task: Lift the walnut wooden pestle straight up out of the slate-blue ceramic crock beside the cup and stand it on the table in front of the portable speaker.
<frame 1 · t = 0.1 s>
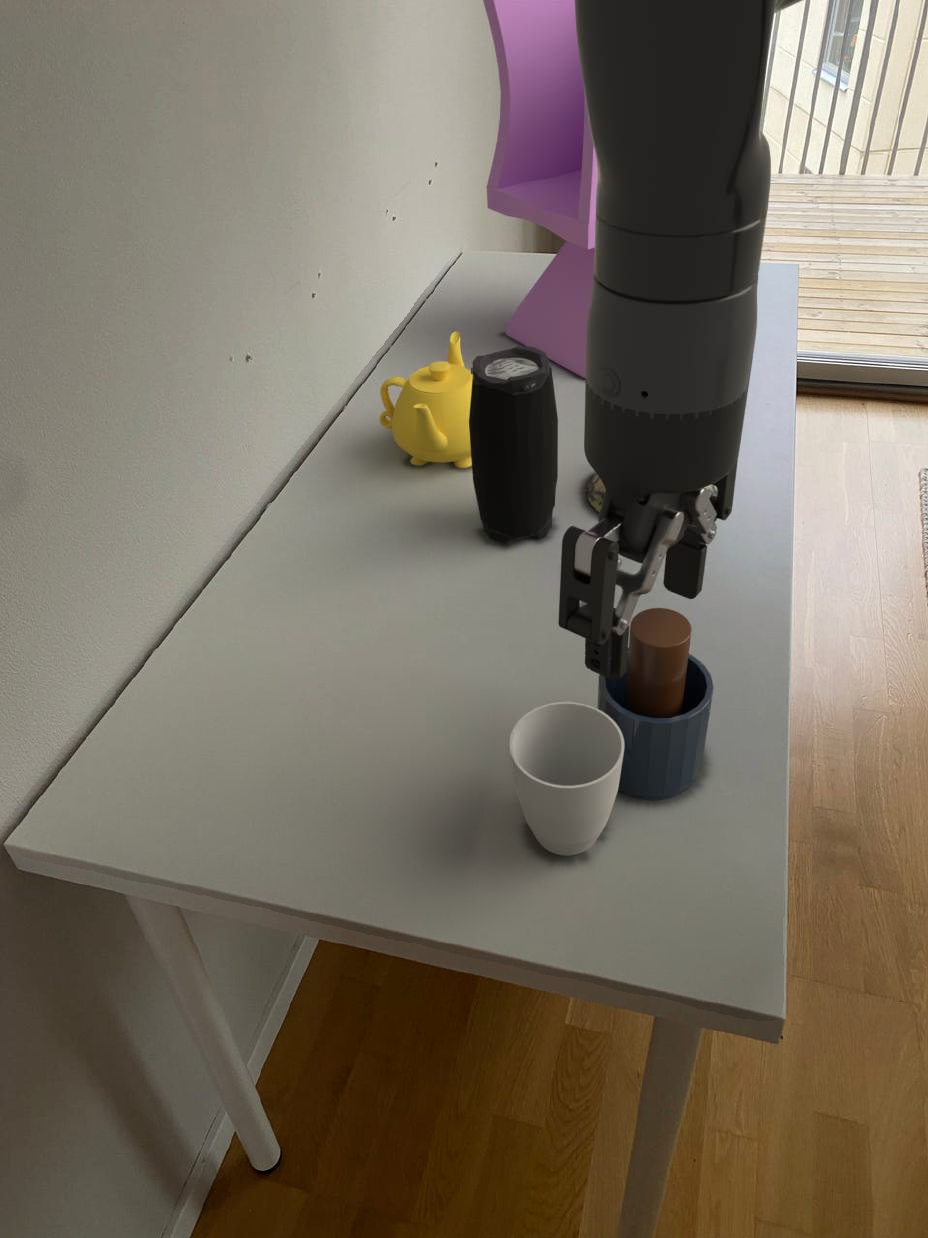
hand: (645, 630, 54), 24 cm above the table, tool pointing down, fingers open, 8 cm apart
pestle: (648, 754, 78), point 1 cm above the table, touching crock
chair: (597, 338, 140), on the table
portable speaker: (517, 527, 105), on the table
cup: (565, 830, 73), on the table
decorative bowl: (652, 493, 108), on the table
crock: (648, 758, 78), on the table
teapot: (439, 450, 118), on the table
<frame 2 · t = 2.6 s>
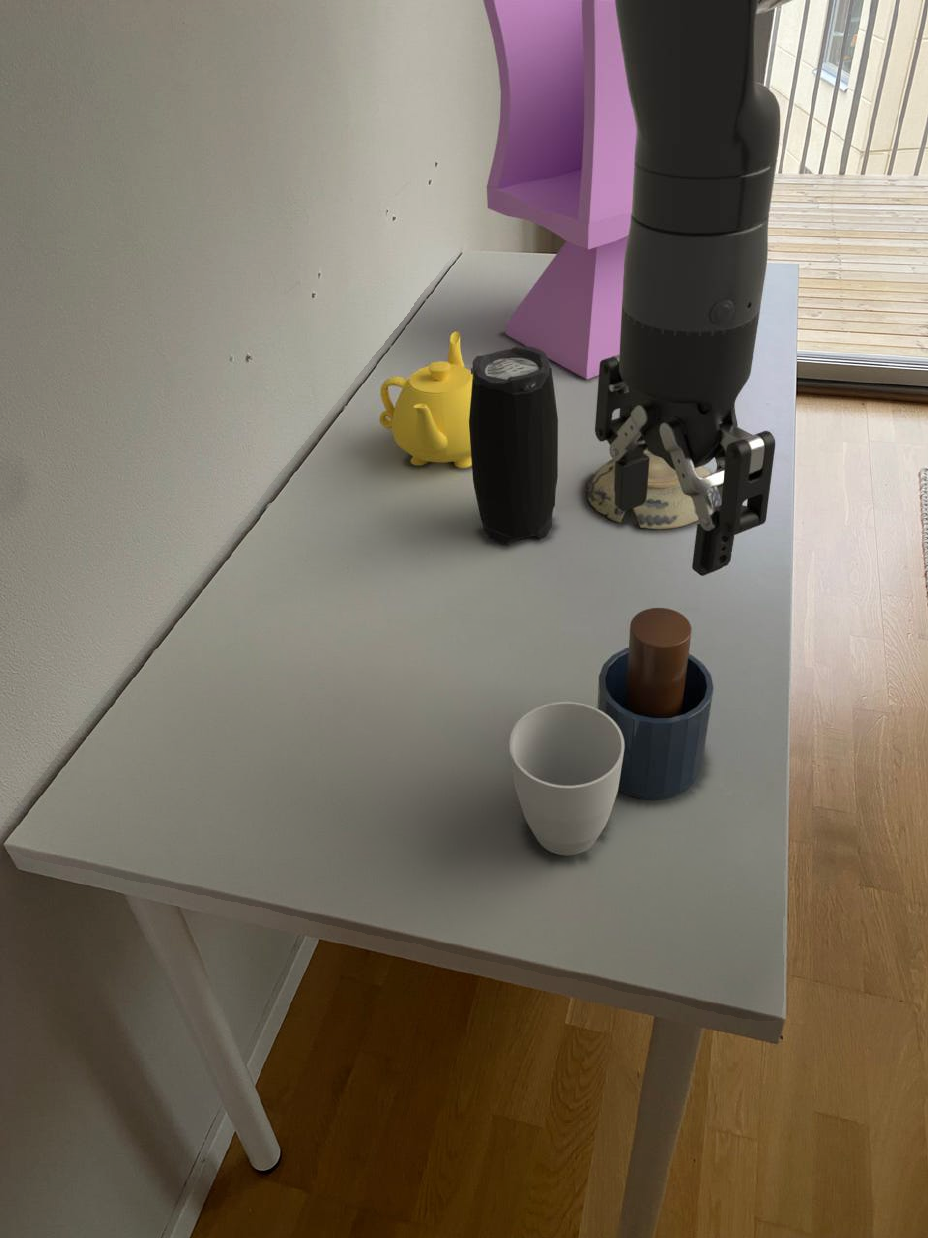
hand: (667, 535, 62), 23 cm above the table, tool pointing down, fingers open, 8 cm apart
nothing on the table moved.
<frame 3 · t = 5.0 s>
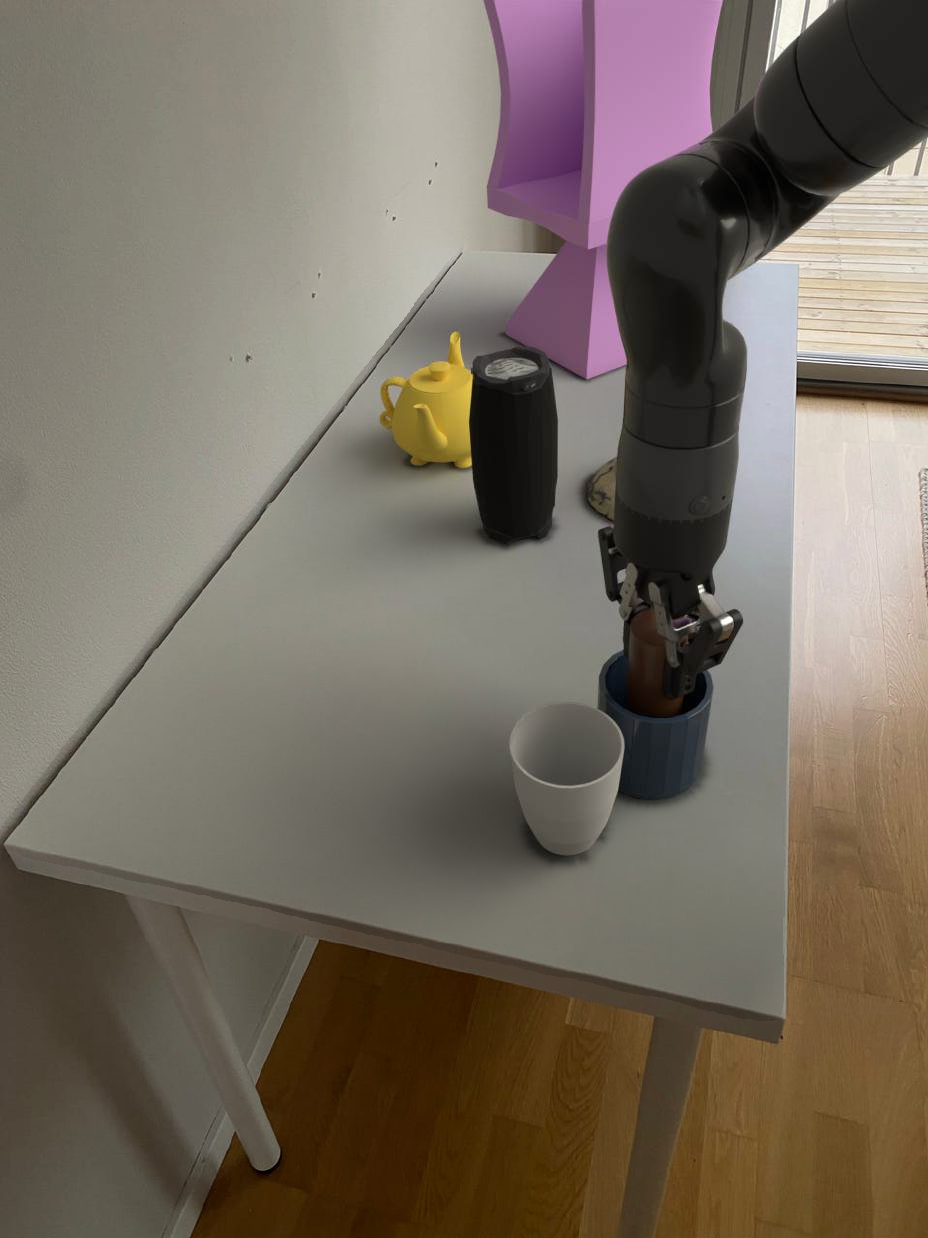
hand: (656, 672, 72), 10 cm above the table, tool pointing down, fingers closed on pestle, 4 cm apart
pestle: (648, 754, 78), point 1 cm above the table, touching crock, gripper
everything else where it was.
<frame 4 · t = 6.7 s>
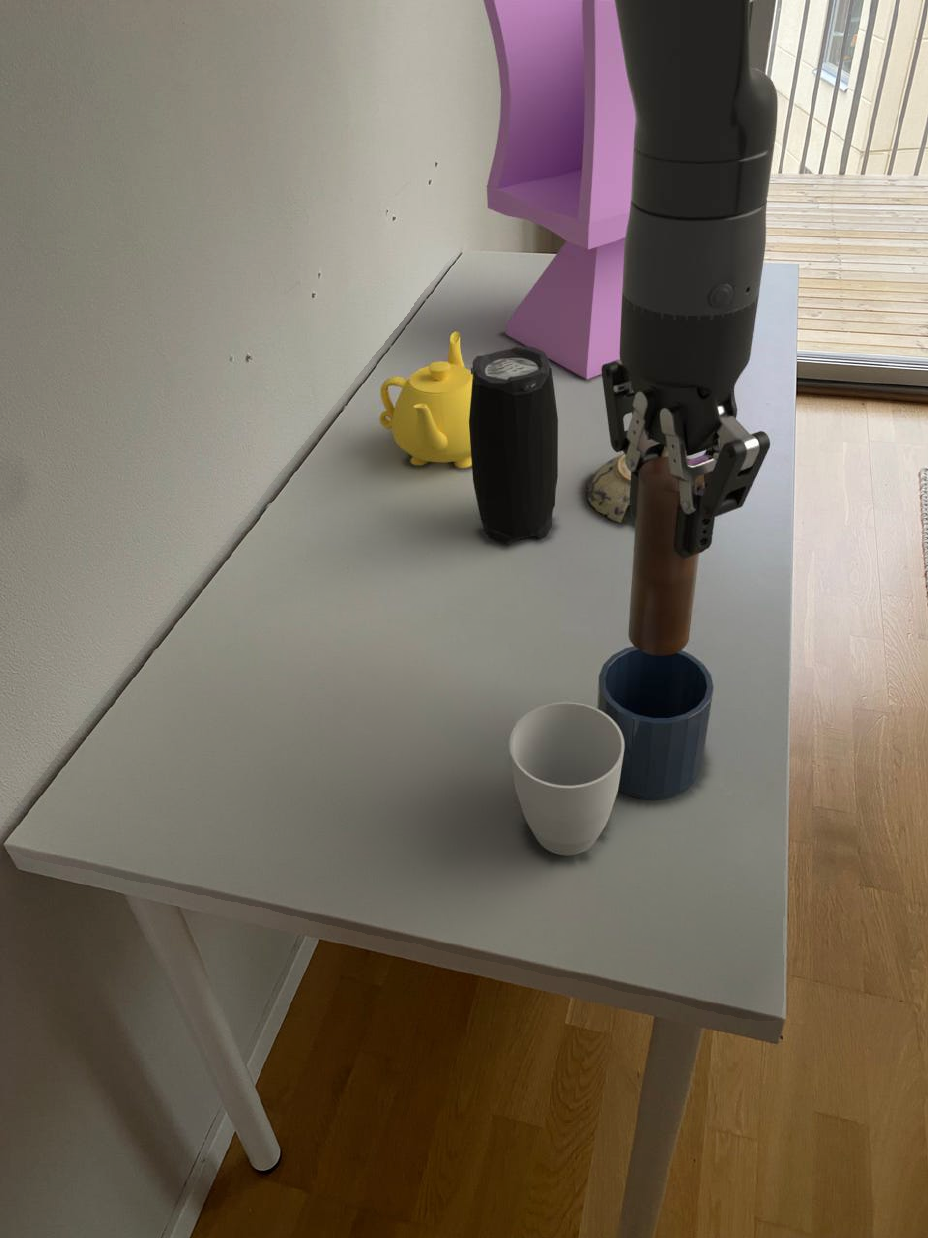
hand: (667, 532, 63), 23 cm above the table, tool pointing down, fingers closed on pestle, 4 cm apart
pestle: (658, 635, 69), point 13 cm above the table, touching gripper
everything else where it was.
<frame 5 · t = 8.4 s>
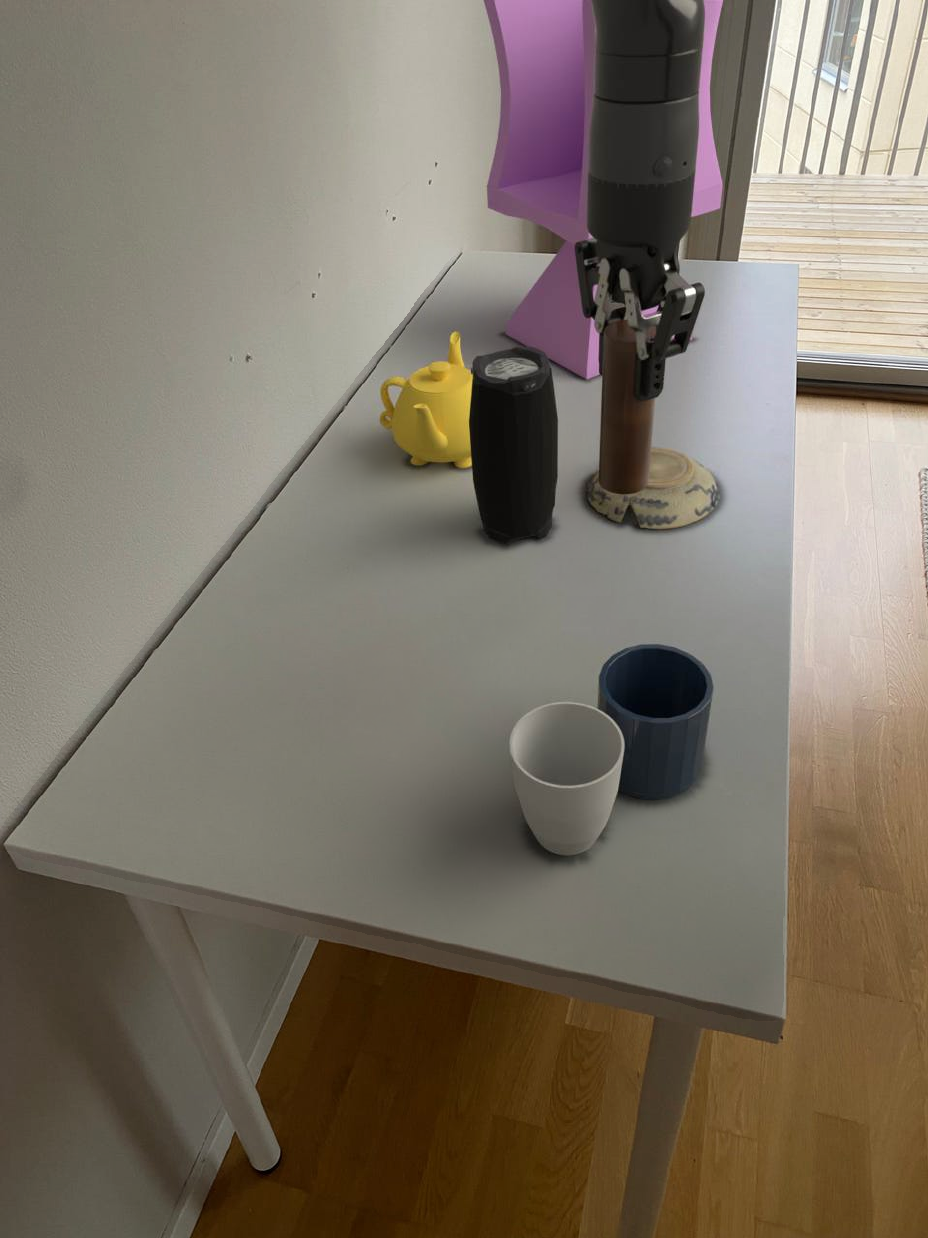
hand: (629, 384, 77), 24 cm above the table, tool pointing down, fingers closed on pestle, 4 cm apart
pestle: (623, 481, 83), point 15 cm above the table, touching gripper
everything else where it was.
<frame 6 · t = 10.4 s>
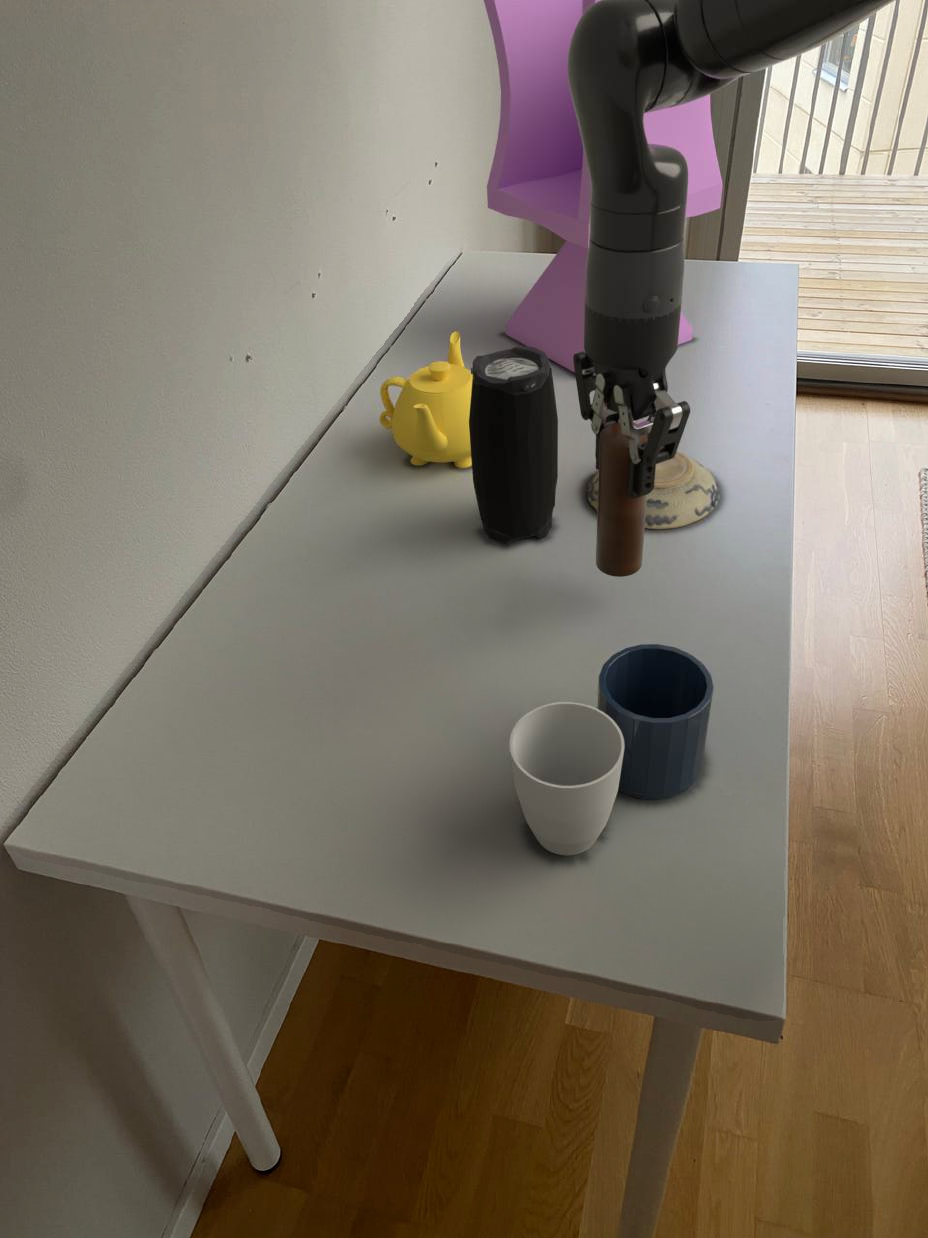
hand: (623, 480, 84), 14 cm above the table, tool pointing down, fingers closed on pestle, 4 cm apart
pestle: (618, 562, 90), point 5 cm above the table, touching gripper
everything else where it was.
when the fingers open (9 cm above the table, at t = 12.0 s): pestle stays where it is, on the table.
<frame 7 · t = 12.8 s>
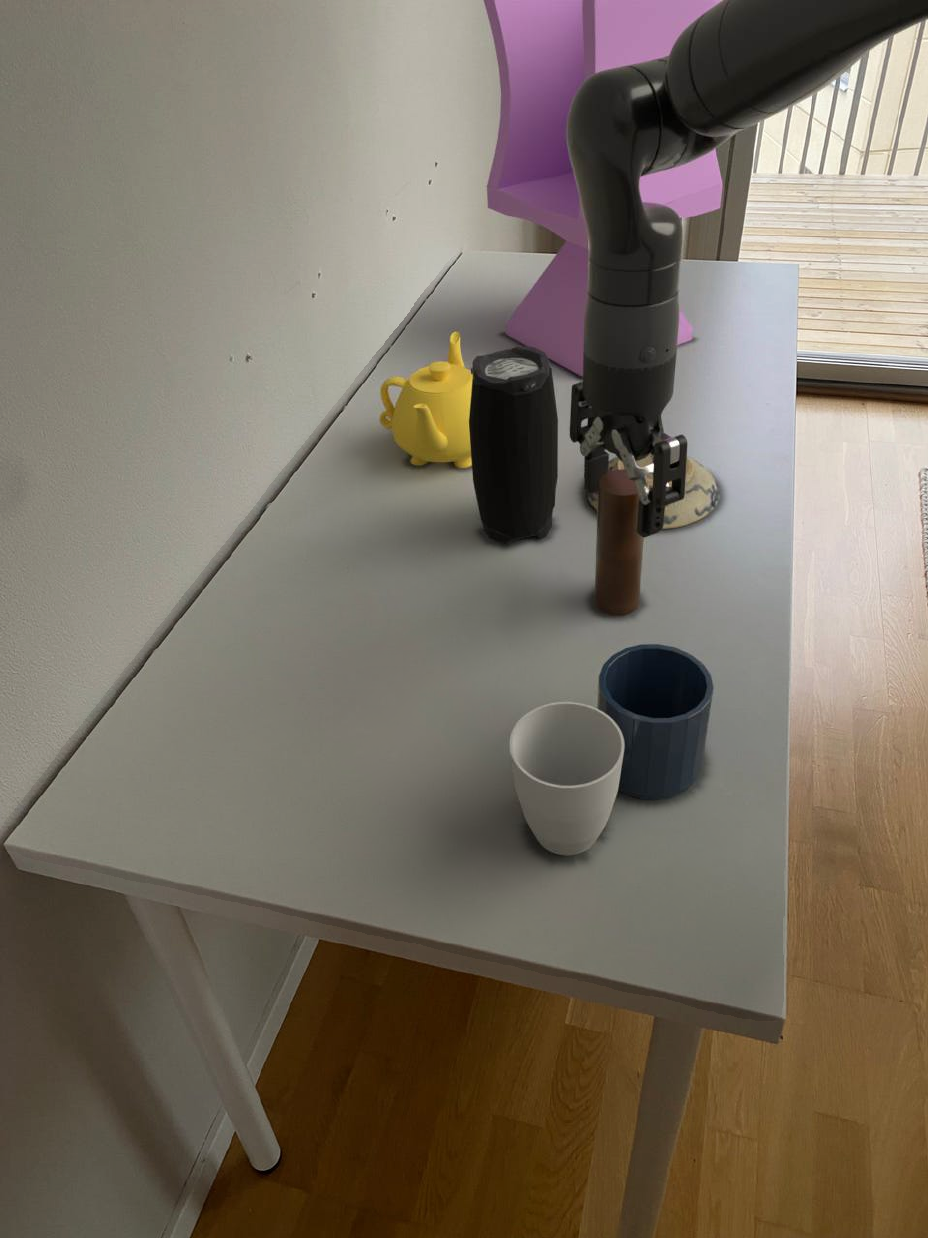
hand: (621, 510, 87), 11 cm above the table, tool pointing down, fingers open, 8 cm apart
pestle: (616, 601, 94), on the table
everything else where it was.
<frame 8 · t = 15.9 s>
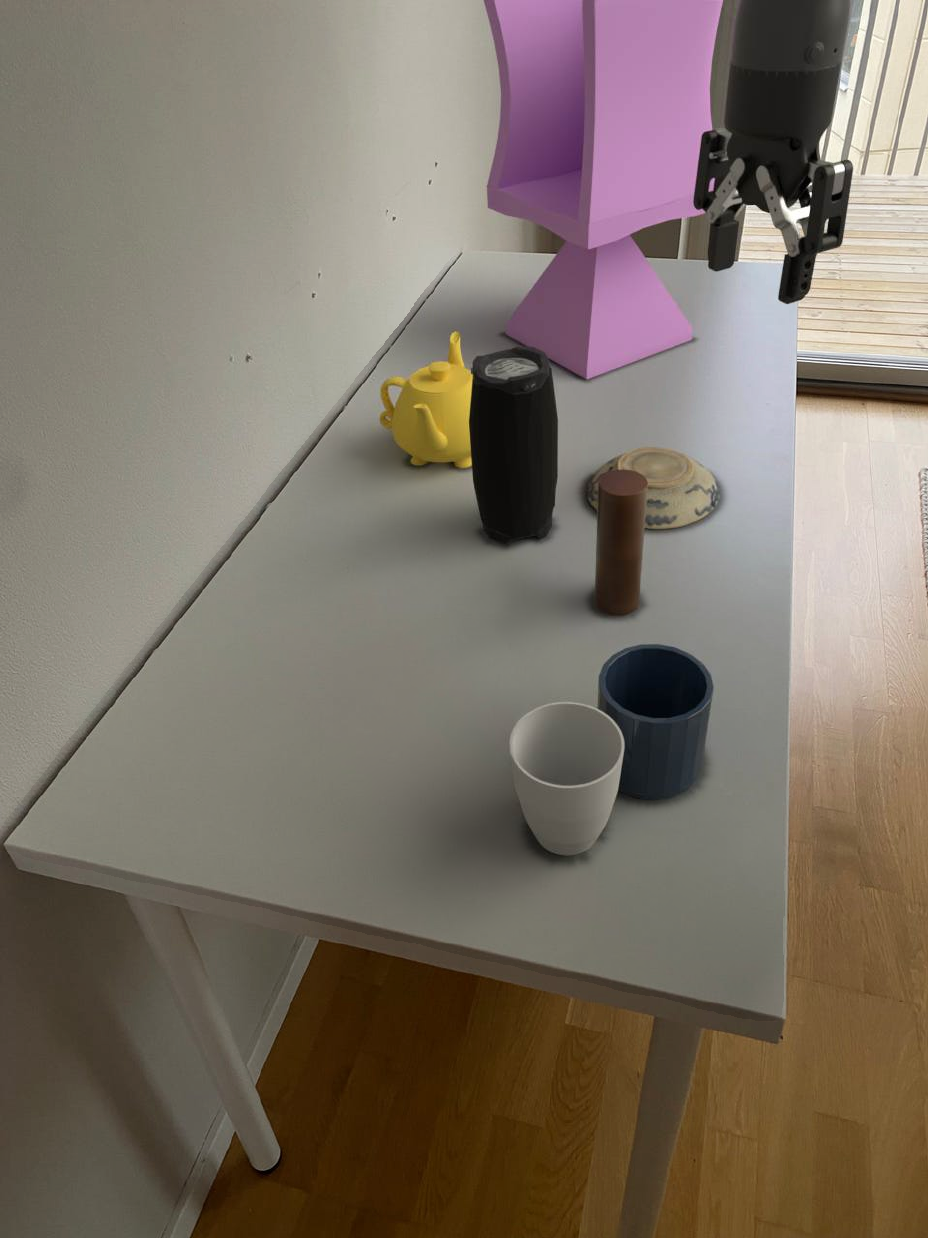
hand: (754, 283, 76), 30 cm above the table, tool pointing down, fingers open, 8 cm apart
nothing on the table moved.
at the end: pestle inside the target area on the table beside the portable speaker (1.7 cm from its centre), on the table; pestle tilted 0°; the gripper is holding nothing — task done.
